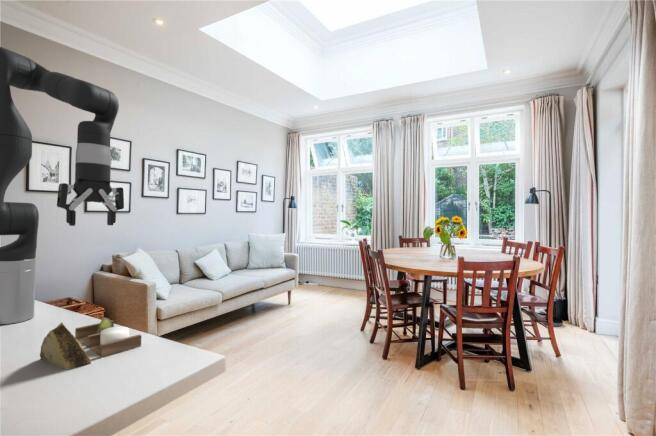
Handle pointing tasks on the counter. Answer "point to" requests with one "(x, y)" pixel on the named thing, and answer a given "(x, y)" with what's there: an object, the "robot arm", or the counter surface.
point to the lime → (104, 325)
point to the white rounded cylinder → (113, 334)
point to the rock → (63, 349)
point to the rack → (93, 342)
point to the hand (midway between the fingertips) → (91, 225)
